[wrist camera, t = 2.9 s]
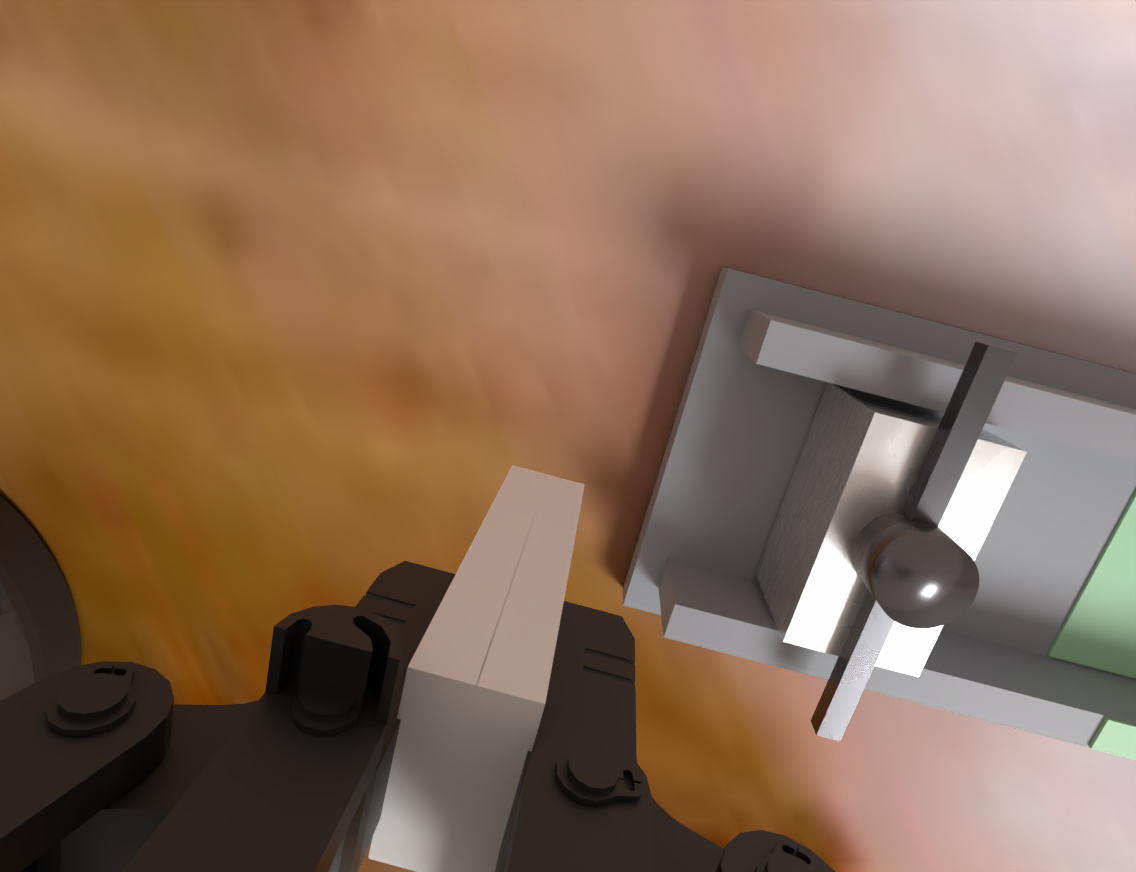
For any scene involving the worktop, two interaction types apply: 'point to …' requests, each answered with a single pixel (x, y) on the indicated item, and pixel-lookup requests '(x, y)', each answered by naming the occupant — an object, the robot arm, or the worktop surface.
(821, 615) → the slider
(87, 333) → the worktop surface
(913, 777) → the worktop surface
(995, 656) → the gauge bed
